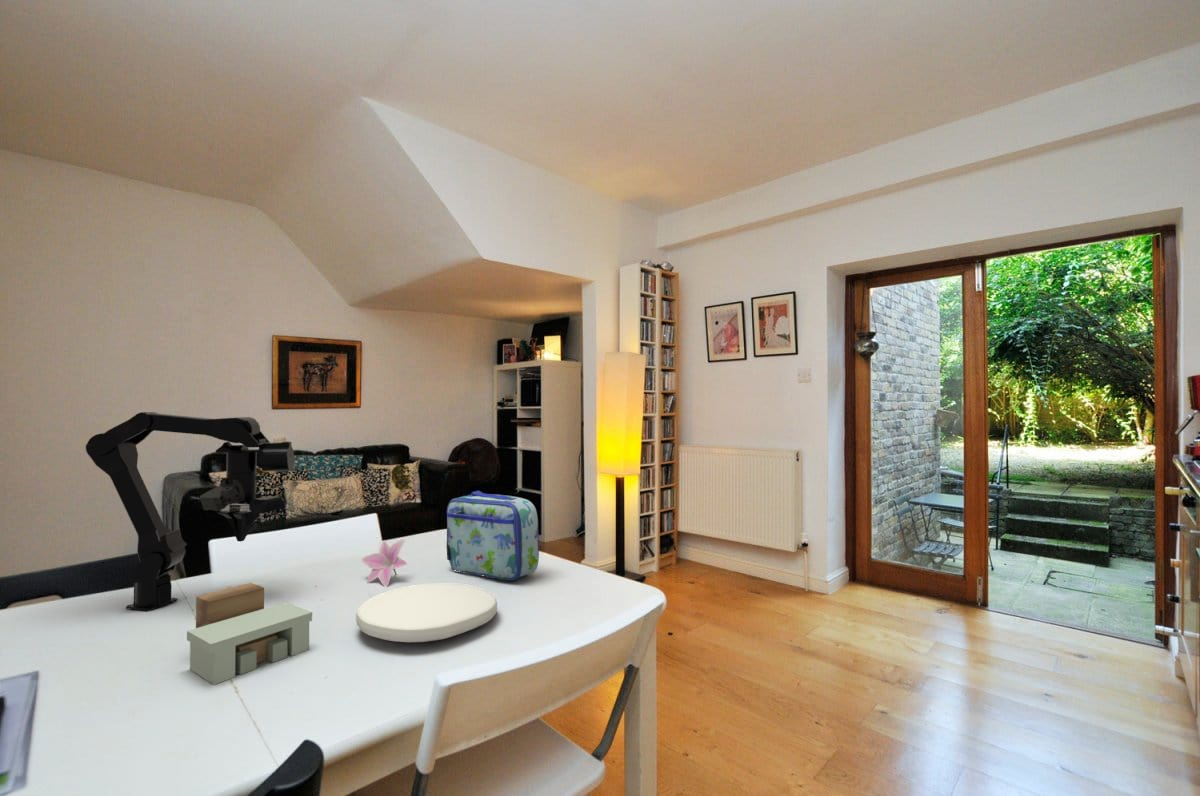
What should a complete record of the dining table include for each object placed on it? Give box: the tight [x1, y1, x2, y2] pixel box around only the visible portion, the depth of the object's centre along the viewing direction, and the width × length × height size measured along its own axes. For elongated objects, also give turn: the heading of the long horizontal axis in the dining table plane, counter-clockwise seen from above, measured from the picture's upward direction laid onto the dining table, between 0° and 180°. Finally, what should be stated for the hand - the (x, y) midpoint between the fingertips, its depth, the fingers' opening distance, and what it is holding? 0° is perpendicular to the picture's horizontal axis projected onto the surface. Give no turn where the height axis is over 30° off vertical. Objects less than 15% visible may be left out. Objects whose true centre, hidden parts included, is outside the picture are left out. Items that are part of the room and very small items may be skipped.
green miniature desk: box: [186, 601, 313, 685], centre depth 95 cm, size 9×16×6 cm, turn 146°
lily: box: [361, 538, 408, 587], centre depth 138 cm, size 12×12×10 cm
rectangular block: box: [195, 582, 277, 664], centre depth 97 cm, size 13×9×10 cm
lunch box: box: [446, 490, 540, 582], centre depth 143 cm, size 26×11×21 cm, turn 58°
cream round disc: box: [355, 582, 498, 643], centre depth 111 cm, size 28×6×27 cm
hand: (240, 541), depth 124 cm, fingers closed
